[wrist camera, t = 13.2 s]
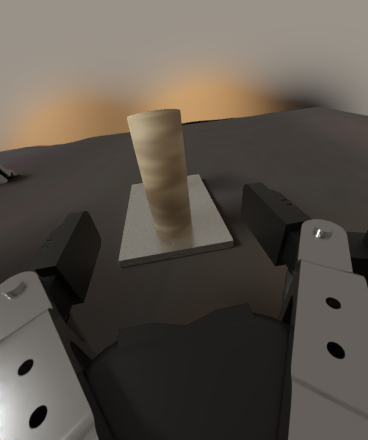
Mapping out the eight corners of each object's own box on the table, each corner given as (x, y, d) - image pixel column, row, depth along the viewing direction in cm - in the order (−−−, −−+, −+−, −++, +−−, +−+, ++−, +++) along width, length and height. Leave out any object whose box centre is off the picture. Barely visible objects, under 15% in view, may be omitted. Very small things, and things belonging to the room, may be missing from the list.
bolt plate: (121, 267, 20) (74, 165, 14) (133, 189, 34) (113, 122, 28) (233, 247, 21) (239, 140, 14) (198, 179, 35) (194, 111, 29)
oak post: (155, 242, 21) (123, 122, 14) (155, 219, 25) (129, 114, 17) (195, 235, 21) (183, 113, 14) (188, 213, 25) (176, 107, 18)
